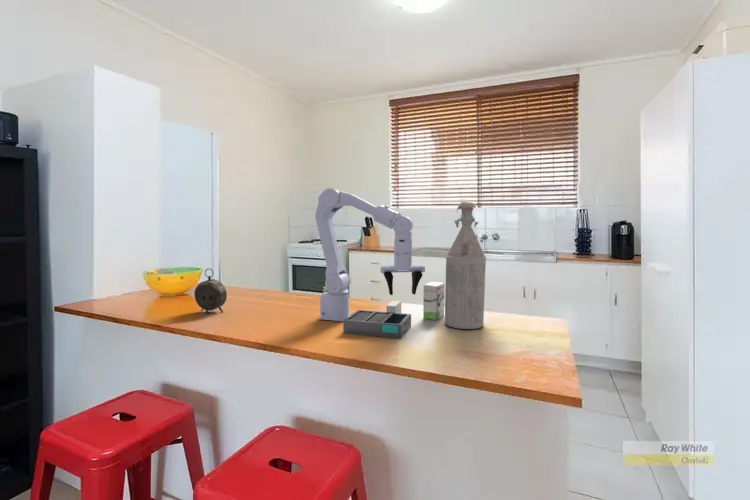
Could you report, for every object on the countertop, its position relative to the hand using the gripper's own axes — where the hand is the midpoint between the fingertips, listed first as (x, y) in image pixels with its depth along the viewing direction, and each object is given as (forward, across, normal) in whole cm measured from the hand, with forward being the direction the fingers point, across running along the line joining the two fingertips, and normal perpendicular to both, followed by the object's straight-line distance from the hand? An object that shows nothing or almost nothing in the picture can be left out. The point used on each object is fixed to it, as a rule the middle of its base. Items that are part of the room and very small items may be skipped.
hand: (402, 294), depth 129 cm
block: (+10, -2, +2) cm, 10 cm away
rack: (+10, -9, -7) cm, 15 cm away
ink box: (+10, +13, +5) cm, 17 cm away
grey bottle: (+10, +20, -5) cm, 23 cm away
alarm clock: (+10, -66, +24) cm, 71 cm away
